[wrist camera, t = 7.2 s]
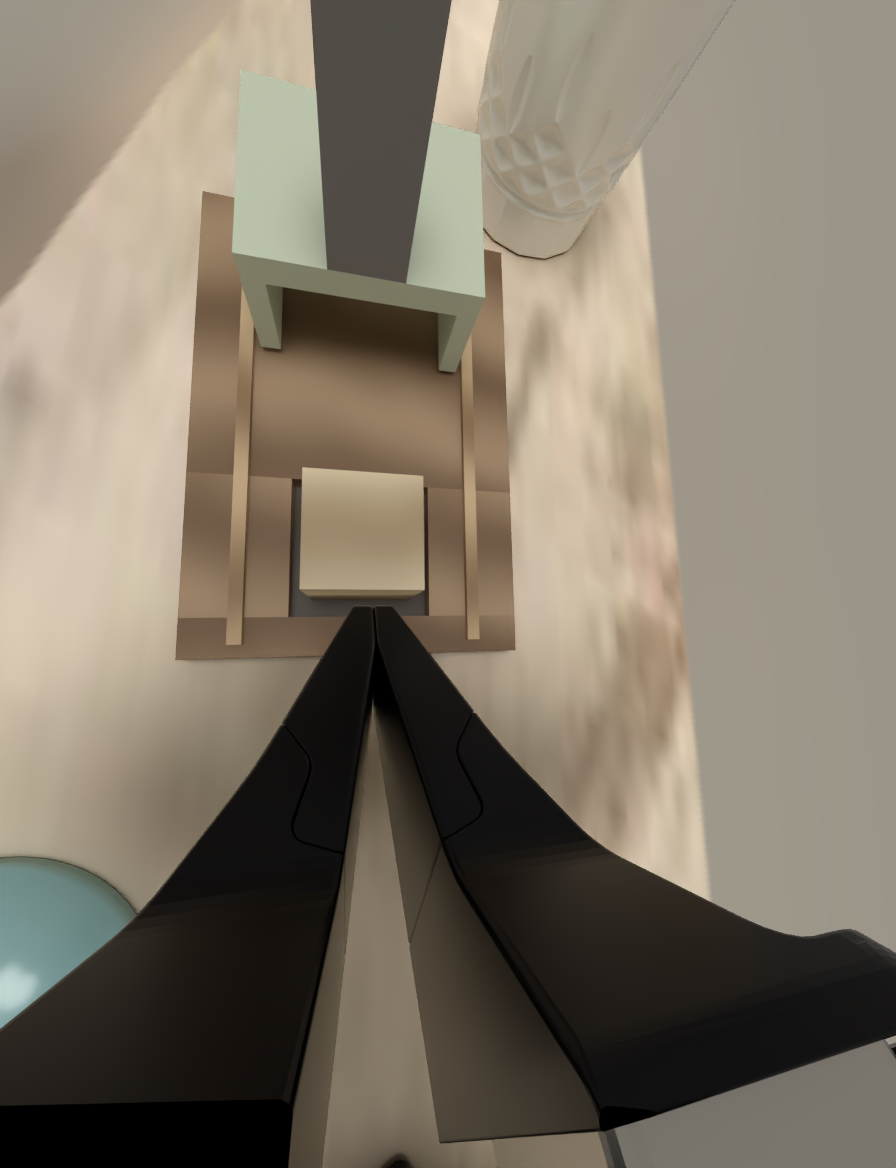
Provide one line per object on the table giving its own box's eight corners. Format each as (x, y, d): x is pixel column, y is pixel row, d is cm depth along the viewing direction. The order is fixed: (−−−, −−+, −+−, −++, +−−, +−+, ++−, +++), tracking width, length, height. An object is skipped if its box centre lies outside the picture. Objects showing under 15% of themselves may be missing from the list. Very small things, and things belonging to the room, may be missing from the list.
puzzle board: (506, 649, 19) (518, 650, 17) (186, 658, 16) (171, 660, 14) (493, 270, 21) (503, 247, 20) (210, 214, 18) (200, 183, 17)
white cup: (505, 109, 22) (624, -292, 13) (615, 209, 23) (803, -92, 14) (423, 194, 21) (490, -196, 11) (546, 299, 21) (707, 26, 12)
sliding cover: (455, 372, 18) (592, 31, 8) (261, 346, 16) (110, -142, 6) (452, 241, 19) (574, -226, 9) (266, 202, 17) (140, -449, 7)
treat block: (408, 599, 18) (424, 589, 14) (311, 599, 17) (299, 589, 13) (407, 509, 18) (423, 475, 14) (312, 504, 17) (302, 467, 13)
